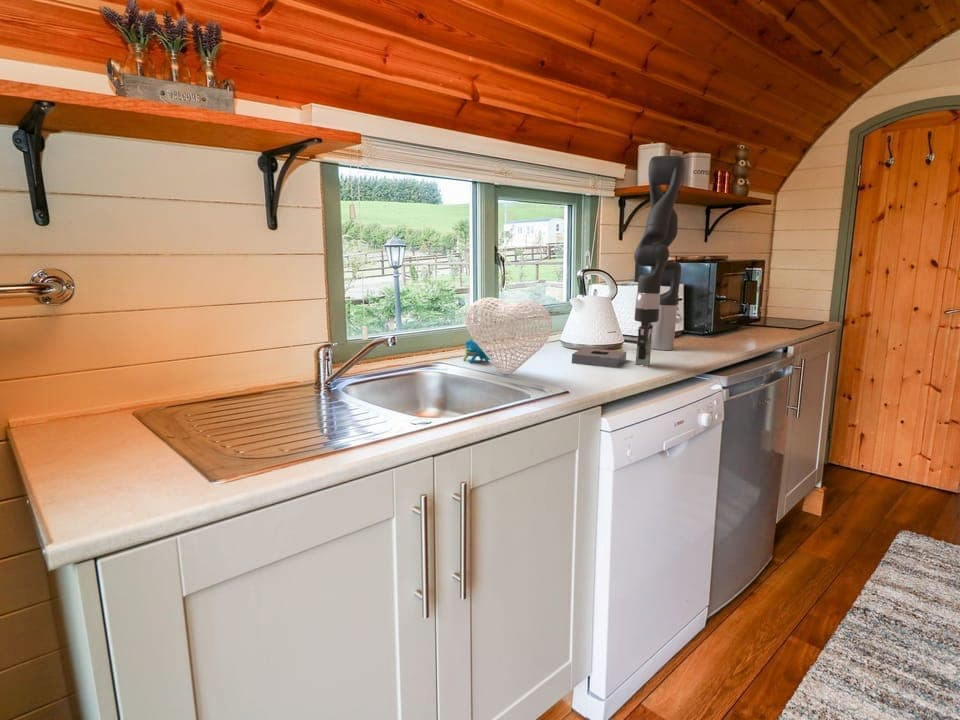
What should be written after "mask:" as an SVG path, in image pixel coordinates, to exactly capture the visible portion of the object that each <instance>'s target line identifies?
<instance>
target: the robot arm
mask: <svg viewBox="0 0 960 720" xmlns="http://www.w3.org/2000/svg"><path fill="white" fill-rule="evenodd" d="M647 170H648V172H647V173H648V175H647V176H648V187H649V196H650V210H649V213H648V214H647V219H646V222H645V223H646V224H645V229H644V232H643V235H642V237H641V239H640V241H639V243H638V245H637V246H636V248H635V251H634V254H633V260H634V262H635V264H636V265H637V266H639V267H650V272H649V273H642V274H641V275H639V276H638V280H637V281H638V283H637V292H636V298H635V309H634V310H635V311H634V321H636V322H639V323H640V326H639V327H638V329H637V331H638V333H637V341H638V344H637V343H636V346H637V345H638V348H639V353H638V359H642V360H644V359H645V357H646V347H647V342H648V341H652V343H651V350H657V351H673V350H674V345H675V344H674V343H675V337H676V336H675V335H676V324H677V311H678V304H679V303H678V301H679V291H680V290H679V289H680V283H681V277H682V265H681V263H680V262H675V261H668V260H669V257H670V250H669V247H670V246H671V244H672V243H673V242H674V241H675V239H676V237H677V235H678V233H679V232H678V229H679V227H678V226H679V225H678V224H679V223H678V221H679V218H678V213H677V212H676V209H675V208H674V205H675V203H676V199H677V197H678V193H679V190H680V188H681V184H682V182H683V177H684V173H685V161H684V158H683V156H681V155H655V156H652V157H651V158H650V160H649V162H648V169H647ZM665 185H666V186H668V188H667V190H666V191H665V193H664V192H663V190H662V186H665ZM661 287H667V288H668V287H669V290H668V291H665V292H664V293H661ZM641 341H644V343H641Z"/></svg>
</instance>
